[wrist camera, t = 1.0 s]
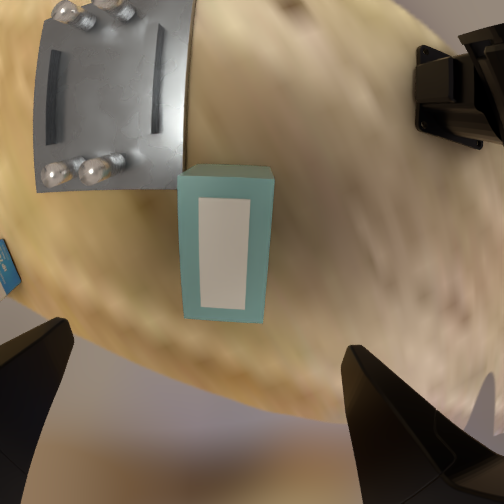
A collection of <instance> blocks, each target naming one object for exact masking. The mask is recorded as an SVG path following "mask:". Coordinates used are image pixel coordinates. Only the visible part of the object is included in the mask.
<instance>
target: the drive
mask: <svg viewBox="0 0 504 504" xmlns="http://www.w3.org/2000/svg"><path fill="white" fill-rule="evenodd" d="M274 183H275V179H274V176H273V173H272V171H271V168H270V167H269V166H252V165H229V164H196V165H194V166H193V167H191V168H189V169H188V170H186V171H184V172H183V173H181V174H180V175H178V176H177V192H178V231H179V254H180V271H181V286H182V299H183V311H184V318H187V319H199V320H212V321H227V322H243V323H263V317H264V306H265V295H266V283H267V272H268V260H269V248H270V235H271V223H272V210H273V197H274Z"/></svg>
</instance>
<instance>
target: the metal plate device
mask: <svg viewBox="0 0 504 504" xmlns="http://www.w3.org/2000/svg"><path fill="white" fill-rule="evenodd" d="M91 2H92V3H91V4H87V5H84V6H81V7H79V6H77V5H76V4H74V3H72V2H70V1H68V0H63V1H61V2H59V3H58V4H57V5H56V6H55V7H54V9H53V11H52V14H51V16H52V18H50V19H47V20H45V21H44V25H43V30H42V35H41V41H40V47H39V53H38V61H37V69H36V78H35V90H34V109H33V149H34V168H35V180H36V190H37V193H45V192H62V191H83V190H119V189H177V176H178V175H180V174H181V173H183V172H184V171H185V168H186V122H187V99H188V82H189V67H190V54H191V42H192V32H193V22H194V13H195V5H196V0H91Z"/></svg>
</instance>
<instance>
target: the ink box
mask: <svg viewBox="0 0 504 504" xmlns="http://www.w3.org/2000/svg"><path fill="white" fill-rule="evenodd" d="M20 283H21V280H20V278H19V275H18V273H17V271H16V269H15V266H14V264H13V262H12V259H11V257H10V254H9V252H8V250H7V247H6V245H5V242H4V240H3V239H1V240H0V301H1V300H3V298H5V297H6V296H7V295H8V294H9V293H10V292H11V291H12V290H13V289H14V288H15V287H16V286H17V285H19V284H20Z"/></svg>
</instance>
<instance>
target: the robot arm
mask: <svg viewBox="0 0 504 504" xmlns="http://www.w3.org/2000/svg"><path fill="white" fill-rule="evenodd" d="M458 38H459V40H460V42H461V43H462V45H464V46H465V48H466V50H467V52H468V53H467V54H462V55H457V56H453V57H452V56H450V55H447V54H445V53H443V52H441V51H438V50H436V49H433V48H431V47H429V46H426V45H422V46H419V47H418V49H417V64H418V66H417V67H416V95H415V99H416V101H417V106H416V122H415V125H416V128H417V130H418V131H420V132H423V133H427V134H430V135H434V136H437V137H440V138H444V139H447V140H450V141H453V142H456V143H459V144H462V145H465V146H468V147H471V148H474V149H477V150H480V149H482V147H483V141H487V142H492V143H497V144H502V145H503V146H504V23H502V24H498V25H494V26H491V27H486V28H483V29H479V30H476V31H472V32H469V33H466V34H463V35H459V36H458ZM423 50H425V52H426V54H424V52H423ZM422 122H423V123H424V128H422V126H421V123H422ZM477 141H478V145H477ZM73 345H74V337H73V334H72V331H71V328H70V325H69V322H68V320H67V319H65V318H60V317H56V318H53V319H51V320H49V321H47V322H46V323H43V324H41V325H40V326H37V327H35V328H33V329H31V330H30V331H27V332H25V333H23V334H21V335H19V336H18V337H16V338H14V339H12V340H10V341H8V342H6V343H4V344H2V345H0V504H21V499H22V495H23V491H24V487H25V483H26V479H27V474H28V471H29V468H30V465H31V461H32V458H33V455H34V452H35V449H36V446H37V443H38V440H39V437H40V434H41V431H42V428H43V426H44V423H45V420H46V417H47V415H48V412H49V410H50V407H51V404H52V402H53V400H54V397H55V395H56V392H57V390H58V388H59V385H60V383H61V380H62V378H63V374H64V372H65V369H66V365H67V363H68V360H69V356H70V354H71V351H72V348H73ZM341 376H342V385H343V394H344V404H345V413H346V418H347V423H348V427H349V432H350V436H351V441H352V446H353V451H354V456H355V461H356V466H357V471H358V477H359V483H360V488H361V494H362V500H363V504H504V456H502V455H499V454H497V453H495V452H493V451H492V450H490V449H489V448H487V447H486V446H484V445H483V444H482V443H480V442H479V441H477V440H476V439H474V438H473V437H471V436H470V435H468V434H467V433H466V432H464V431H463V430H462V429H460V428H459V427H457V426H456V425H455V424H454V423H452V422H451V421H450V420H449V419H448V418H446V417H445V416H444V415H443V414H442V413H440V412H439V411H438V410H436V408H435V407H433V406H432V405H431V404H430V403H429V402H428V401H426V400H425V399H424V398H423V397H422V396H421V395H419V394H418V393H417V392H416V391H415V390H414V389H412V388H411V387H410V386H409V385H408V384H407V383H405V382H404V381H403V380H402V379H401V378H400V377H398V376H397V375H396V374H395V373H394V372H393V371H391V370H390V369H389V368H388V367H387V366H386V365H384V364H383V363H382V362H381V361H380V360H379V359H377V358H376V357H375V356H374V355H373V354H372V353H371V352H369V351H368V350H367V349H366V348H365V347H364V346H362V345H350V346H348V348H347V350H346V353H345V356H344V358H343V361H342V364H341Z"/></svg>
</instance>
